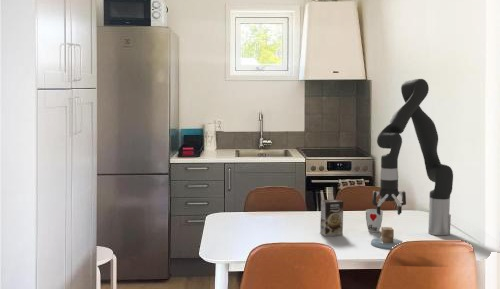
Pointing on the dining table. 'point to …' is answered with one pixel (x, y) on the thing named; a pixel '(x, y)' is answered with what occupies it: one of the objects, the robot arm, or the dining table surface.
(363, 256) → the dining table surface
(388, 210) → the dining table surface
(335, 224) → the coffee box
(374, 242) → the dish
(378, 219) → the cup
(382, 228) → the block
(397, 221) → the dining table surface
